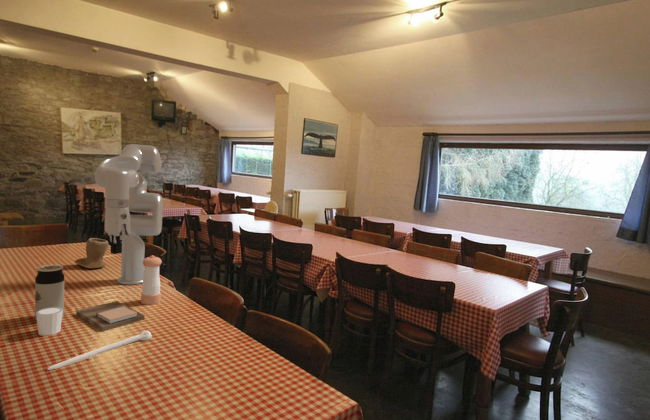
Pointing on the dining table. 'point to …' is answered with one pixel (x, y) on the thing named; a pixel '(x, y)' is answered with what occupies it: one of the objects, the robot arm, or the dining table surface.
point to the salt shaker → (151, 281)
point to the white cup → (49, 320)
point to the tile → (116, 314)
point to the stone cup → (94, 253)
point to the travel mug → (49, 287)
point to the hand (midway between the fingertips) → (116, 253)
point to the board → (101, 324)
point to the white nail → (103, 349)
